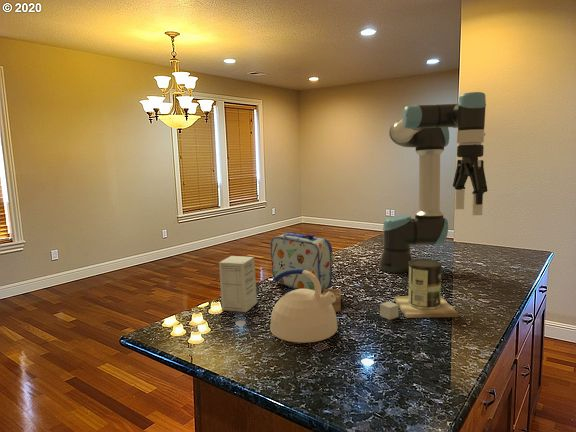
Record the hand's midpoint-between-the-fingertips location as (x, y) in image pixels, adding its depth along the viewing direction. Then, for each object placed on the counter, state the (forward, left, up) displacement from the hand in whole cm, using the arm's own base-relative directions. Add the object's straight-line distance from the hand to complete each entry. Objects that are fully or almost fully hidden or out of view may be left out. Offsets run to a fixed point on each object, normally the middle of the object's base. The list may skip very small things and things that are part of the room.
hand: (467, 212), depth 129 cm
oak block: (-7, -43, -32) cm, 54 cm away
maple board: (0, -13, -32) cm, 34 cm away
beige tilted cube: (+6, -26, -32) cm, 42 cm away
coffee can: (0, -13, -31) cm, 33 cm away
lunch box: (-23, -53, -32) cm, 66 cm away
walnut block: (0, -44, -32) cm, 54 cm away
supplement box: (-4, -75, -32) cm, 82 cm away
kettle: (+14, -53, -32) cm, 64 cm away
